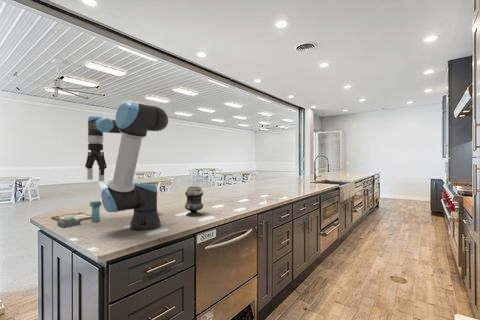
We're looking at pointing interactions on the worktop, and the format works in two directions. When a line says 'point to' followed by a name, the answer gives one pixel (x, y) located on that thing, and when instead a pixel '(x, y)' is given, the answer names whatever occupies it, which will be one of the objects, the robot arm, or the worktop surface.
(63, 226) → the button housing
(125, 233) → the worktop surface
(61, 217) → the clipboard
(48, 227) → the worktop surface
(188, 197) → the apothecary jar
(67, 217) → the button
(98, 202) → the teal square-headed peg
